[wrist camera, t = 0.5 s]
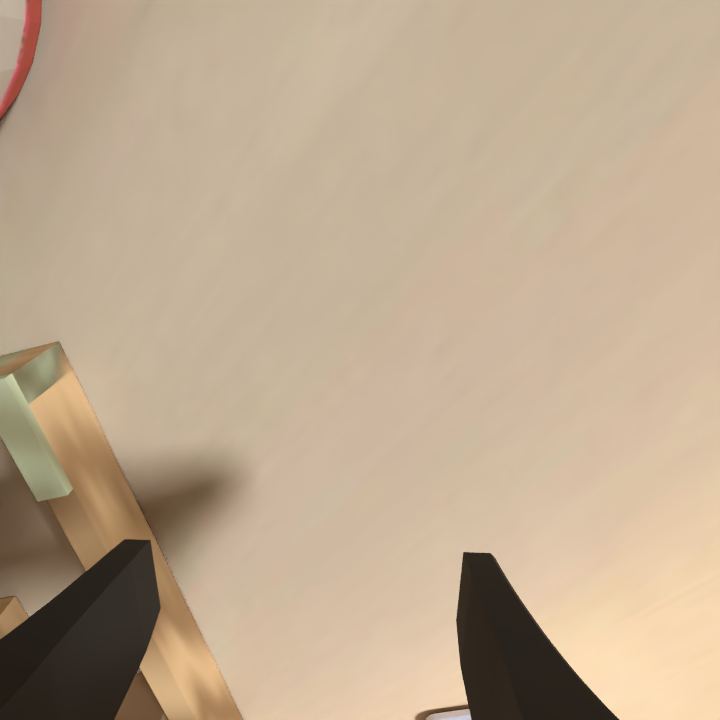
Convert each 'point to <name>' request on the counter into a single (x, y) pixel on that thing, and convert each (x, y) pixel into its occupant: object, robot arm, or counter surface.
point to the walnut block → (140, 702)
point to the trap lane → (100, 519)
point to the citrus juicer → (17, 45)
